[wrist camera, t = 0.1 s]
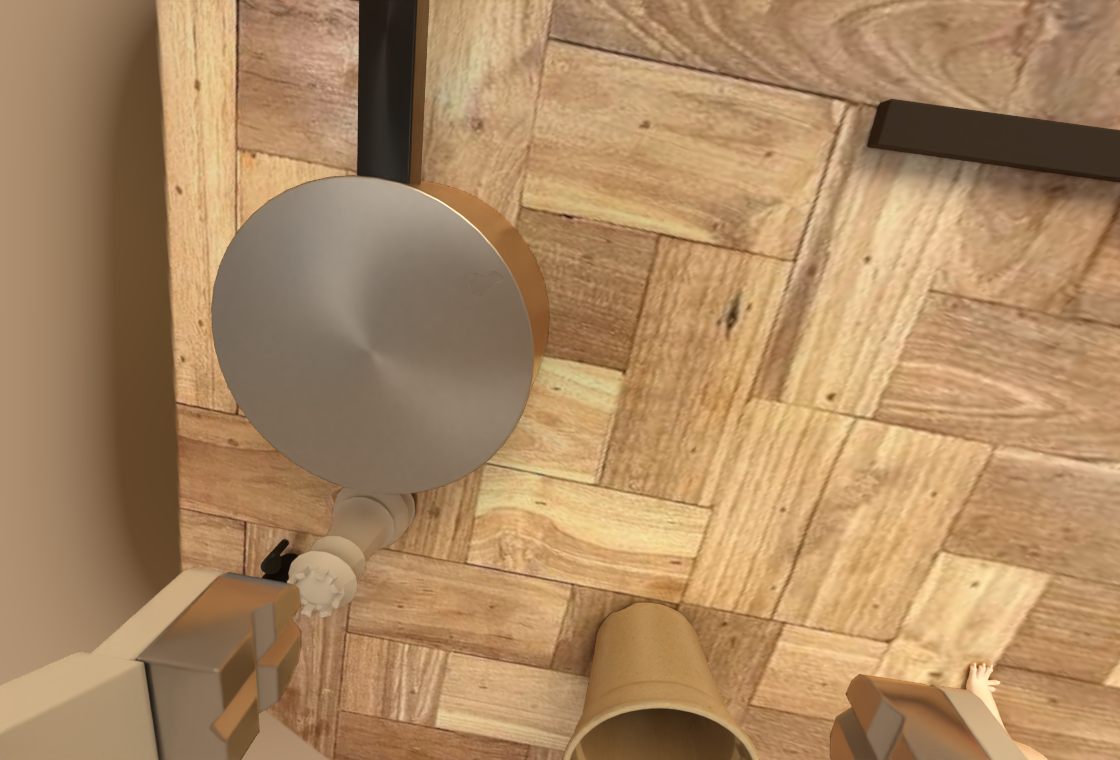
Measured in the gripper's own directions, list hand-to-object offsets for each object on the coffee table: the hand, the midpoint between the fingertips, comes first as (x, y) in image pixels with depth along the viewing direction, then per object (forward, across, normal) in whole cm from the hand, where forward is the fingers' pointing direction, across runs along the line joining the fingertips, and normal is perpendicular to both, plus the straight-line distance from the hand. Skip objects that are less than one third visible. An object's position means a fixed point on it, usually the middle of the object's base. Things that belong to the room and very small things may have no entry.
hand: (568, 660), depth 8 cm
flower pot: (+21, -6, +19) cm, 29 cm away
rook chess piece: (+21, +11, +12) cm, 26 cm away
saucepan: (+21, +9, -4) cm, 23 cm away
